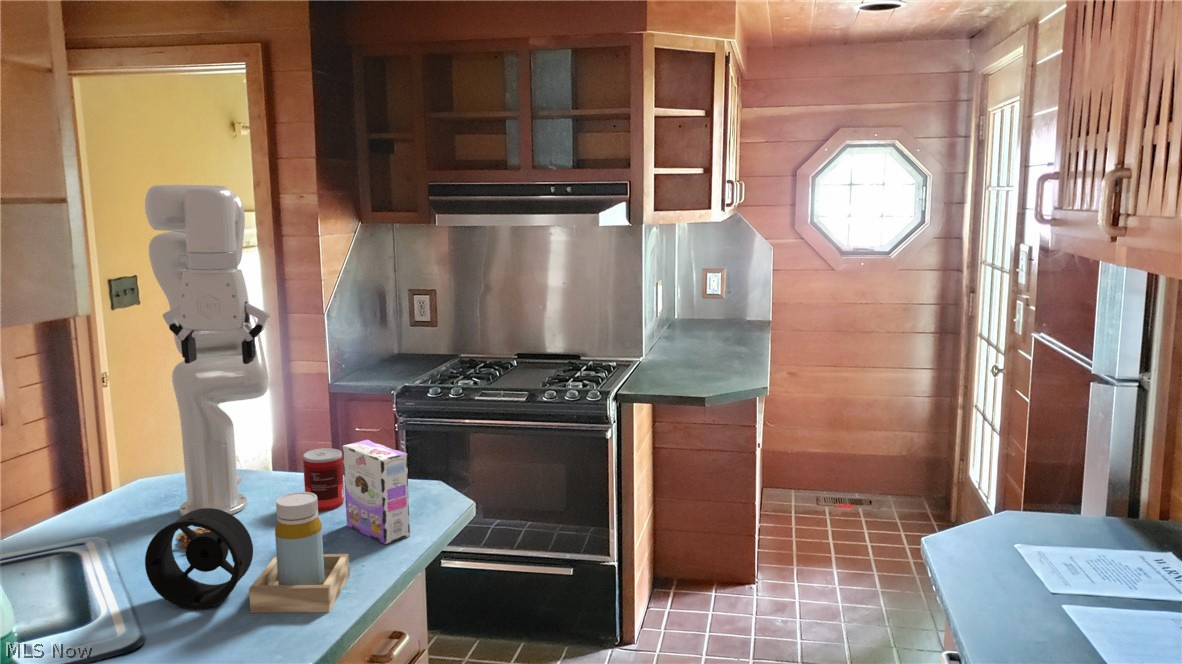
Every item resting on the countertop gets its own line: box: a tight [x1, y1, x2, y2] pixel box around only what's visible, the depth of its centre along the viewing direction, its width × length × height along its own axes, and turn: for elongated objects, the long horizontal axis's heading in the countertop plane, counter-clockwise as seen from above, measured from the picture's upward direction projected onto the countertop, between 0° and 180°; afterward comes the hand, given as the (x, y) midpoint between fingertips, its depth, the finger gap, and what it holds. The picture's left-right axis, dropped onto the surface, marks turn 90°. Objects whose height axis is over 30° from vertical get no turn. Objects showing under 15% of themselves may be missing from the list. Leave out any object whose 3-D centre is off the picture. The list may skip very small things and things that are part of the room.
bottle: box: [274, 491, 325, 585], centre depth 130 cm, size 7×7×15 cm
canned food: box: [302, 447, 345, 512], centre depth 169 cm, size 8×8×11 cm
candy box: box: [341, 439, 411, 545], centre depth 155 cm, size 14×6×16 cm, turn 47°
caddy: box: [248, 553, 350, 614], centre depth 131 cm, size 12×12×4 cm
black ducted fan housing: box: [144, 508, 254, 610], centre depth 130 cm, size 14×14×10 cm
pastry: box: [175, 527, 211, 551], centre depth 151 cm, size 7×12×4 cm, turn 59°
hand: (219, 362), depth 139 cm, fingers open, 9 cm apart
